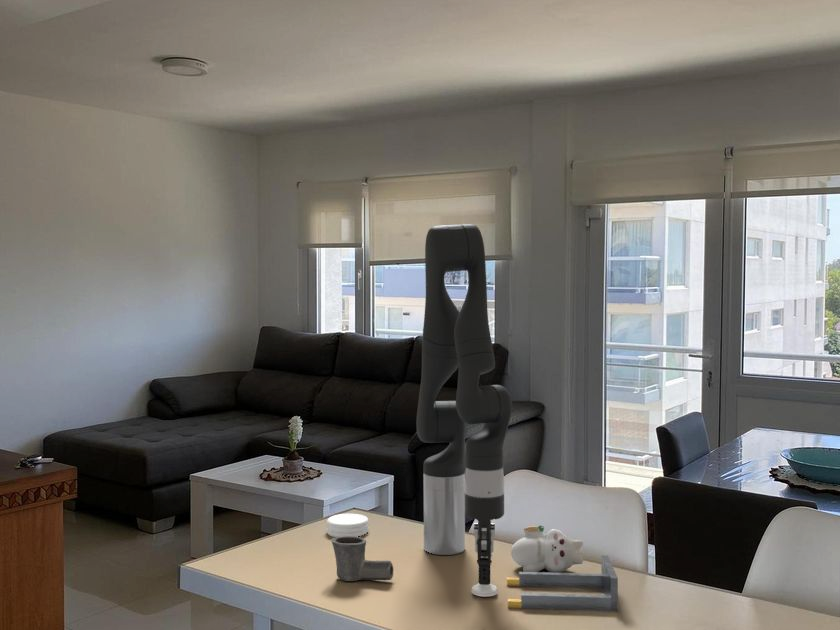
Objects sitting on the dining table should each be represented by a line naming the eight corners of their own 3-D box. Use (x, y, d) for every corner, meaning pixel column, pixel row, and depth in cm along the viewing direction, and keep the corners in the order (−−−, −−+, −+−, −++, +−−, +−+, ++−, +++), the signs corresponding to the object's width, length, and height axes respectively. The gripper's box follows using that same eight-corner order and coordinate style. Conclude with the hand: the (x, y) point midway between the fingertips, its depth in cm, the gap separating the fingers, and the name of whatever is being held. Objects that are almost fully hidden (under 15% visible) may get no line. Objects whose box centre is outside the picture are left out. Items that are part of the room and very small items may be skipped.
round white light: (318, 533, 189) (318, 519, 189) (347, 524, 197) (347, 510, 197) (347, 542, 183) (347, 527, 183) (377, 532, 190) (376, 517, 190)
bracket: (506, 583, 155) (506, 553, 155) (607, 586, 154) (607, 555, 153) (507, 607, 143) (507, 575, 143) (617, 611, 142) (617, 578, 141)
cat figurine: (506, 523, 164) (578, 520, 159) (516, 533, 171) (585, 531, 166) (506, 569, 160) (580, 569, 155) (515, 578, 166) (587, 578, 161)
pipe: (387, 588, 154) (387, 547, 153) (326, 582, 157) (325, 542, 156) (396, 577, 160) (395, 537, 159) (336, 572, 163) (336, 533, 162)
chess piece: (500, 588, 151) (500, 537, 151) (493, 598, 147) (493, 544, 146) (475, 585, 153) (475, 534, 153) (468, 594, 148) (468, 542, 148)
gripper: (504, 500, 142) (504, 595, 143) (503, 482, 156) (504, 569, 156) (463, 499, 143) (463, 594, 143) (465, 481, 157) (466, 568, 157)
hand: (484, 580), depth 150 cm, fingers closed on chess piece
